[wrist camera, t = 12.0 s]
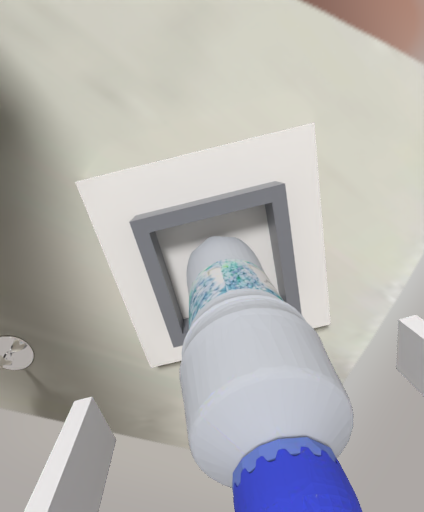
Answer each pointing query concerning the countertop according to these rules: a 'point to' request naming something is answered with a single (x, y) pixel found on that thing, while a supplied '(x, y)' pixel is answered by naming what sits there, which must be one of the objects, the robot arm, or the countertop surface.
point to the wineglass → (15, 353)
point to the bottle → (260, 390)
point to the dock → (211, 228)
